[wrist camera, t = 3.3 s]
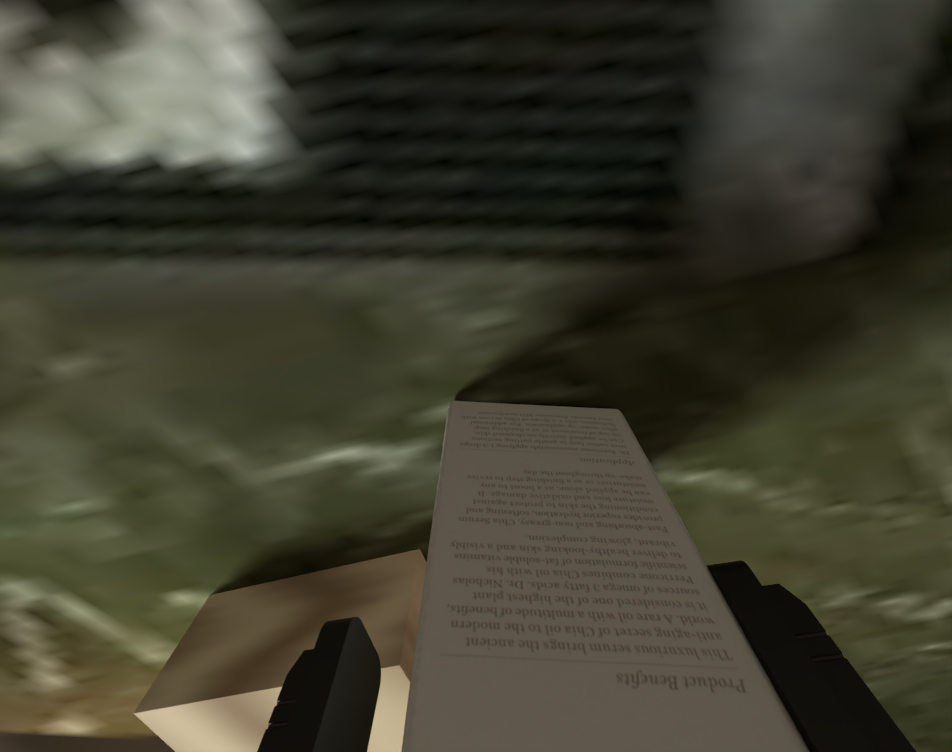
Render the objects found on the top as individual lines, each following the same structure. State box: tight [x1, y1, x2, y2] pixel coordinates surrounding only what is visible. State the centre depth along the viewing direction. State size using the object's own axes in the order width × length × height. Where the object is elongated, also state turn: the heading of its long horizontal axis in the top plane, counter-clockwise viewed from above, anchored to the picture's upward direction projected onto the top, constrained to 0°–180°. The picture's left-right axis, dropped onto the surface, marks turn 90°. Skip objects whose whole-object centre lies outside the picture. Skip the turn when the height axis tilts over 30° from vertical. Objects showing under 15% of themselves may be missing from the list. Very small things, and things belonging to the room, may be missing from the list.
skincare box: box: [401, 401, 810, 752], centre depth 11 cm, size 6×4×12 cm
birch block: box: [134, 549, 427, 752], centre depth 19 cm, size 10×10×5 cm
